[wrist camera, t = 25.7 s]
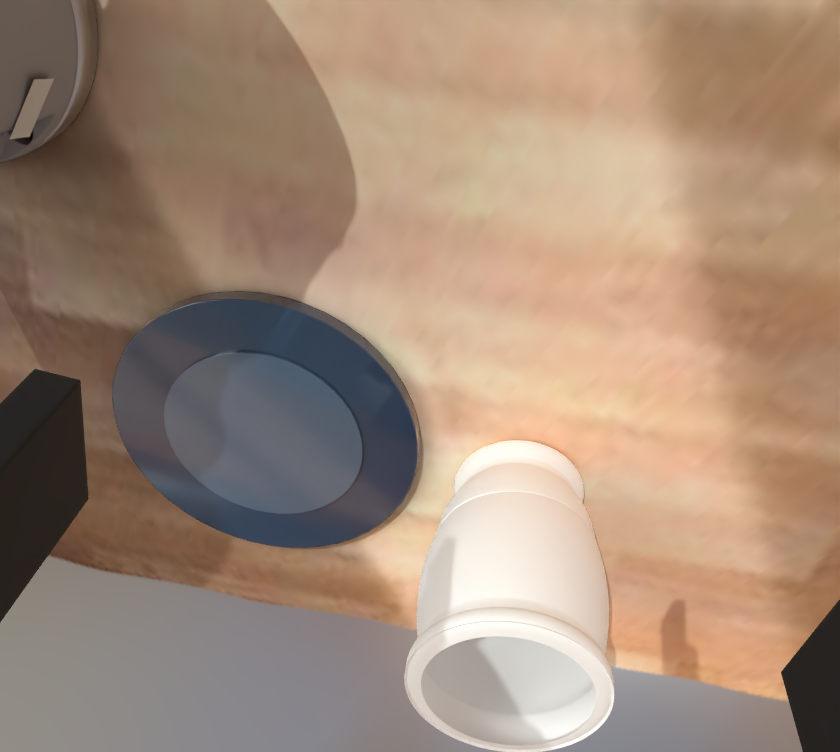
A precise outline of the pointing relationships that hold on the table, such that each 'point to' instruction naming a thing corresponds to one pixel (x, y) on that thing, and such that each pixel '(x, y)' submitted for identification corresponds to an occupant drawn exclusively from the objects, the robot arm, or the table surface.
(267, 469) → the plate
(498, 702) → the jar
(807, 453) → the table surface
